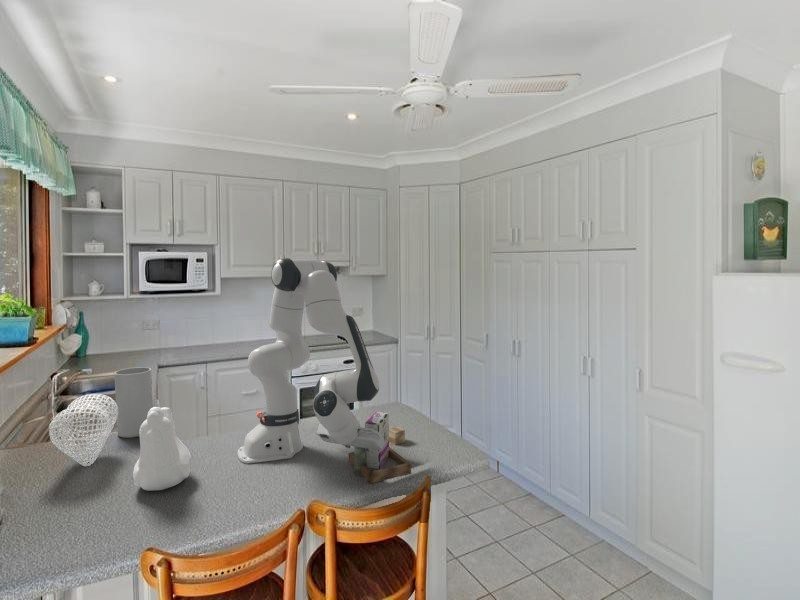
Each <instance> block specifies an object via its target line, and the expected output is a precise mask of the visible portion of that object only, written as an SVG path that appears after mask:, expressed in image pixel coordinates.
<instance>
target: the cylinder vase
mask: <svg viewBox="0 0 800 600" xmlns="http://www.w3.org/2000/svg"><path fill="white" fill-rule="evenodd" d="M113 374H114V390H115V391H114V393H115V402H116V403H117V407H118V416H117V420H116V427H117V436H118V437H120V438H125V439H129V438H130V439H131V438H133V439H134V438H138V437H139V438H140V436H139V431H140V427H141V425H142V423H143V422H144V421H145V420H146V419H147V414H148V412H149V410H150V409H151V408H153V407H154V406H153V405H154V403H153V402H154V401H153V385H152V384H153V383H152V380H153V379H152V368H150V367H145V366H144V367H143V366H142V367H141V366H140V367H137V366H136V367H129V368H123V369H119V370H117V371H115V372H114V373H113Z"/></svg>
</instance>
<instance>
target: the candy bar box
mask: <svg viewBox="0 0 800 600" xmlns="http://www.w3.org/2000/svg"><path fill="white" fill-rule="evenodd" d="M389 426H390V425H389V412H382V411H375V412H374V413H373V414H372V415H371V416H370V417H369V418H368V419H367V420H366V422H364V428H369V429H374V430H376V431H378V432H379V433H380V434H381V435H382V436H383V438H384V445H383V448H382V449H381V450H375V449H372V452H370V451H367V450H366V467H367V468H368V469H369V470H370V471H371V472H372V471H374V470H373V469H376V470H380V469H381V468H382V467H383V465H384V464H385V463H386V461H387V459H388V458H389V456H390V455H389V447H390V444H389V429H390V427H389Z"/></svg>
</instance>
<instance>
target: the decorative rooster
mask: <svg viewBox="0 0 800 600" xmlns="http://www.w3.org/2000/svg"><path fill="white" fill-rule="evenodd" d="M175 426H176V425H175V422H174V415H173V413H172V410H171V408H170V407H165V406H164V407H160V406H153V408H151V409H150V410H149V412H148V414H147V419H146V420H145V421H144V422H143V423H142V425H141V427H140V431H139V444H140V445H139V446H140V453H139V458H137V460H136V462H135V464H134V467H133V472H132V477H133V478H132V479H133V485H134V486H135V487H140V488H142V490H144V491H163V490H166V489H169V488H172V487H174V486H176V485H179V484H180V483H181V482H182V481H184V480H185V479H187V478H188V477H189V475H190V474H191V468H192V457H191V453H190V450H189V448H188V447H187V446H186V445H185V444H184V443H183V442H182V441H181V440H180V438H179V437H178V436H177V435H176V427H175Z"/></svg>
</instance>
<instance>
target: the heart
mask: <svg viewBox="0 0 800 600" xmlns="http://www.w3.org/2000/svg"><path fill="white" fill-rule="evenodd" d="M106 404H107V405H106ZM87 410H88V411H87ZM77 414H78V415H77ZM91 415H92V416H91ZM90 416H91V417H90ZM117 416H118V407H117V403H116V400H114V399H113V397H110V396H108V395H105V394H103V393H89V394H84V395H81V396H78V397H77V398H75V399H74V400H73V401H71V403H69V405H68V406H67V408H65V409H63V410H62V411H60V412H59V413H57V414H56V415H55V416H54V417H53V419H52V420H51V421H50V423H49V425H48V436H49V439H50V441H51V443H52V444H53V445H54V447H56V448H57V449H58V450H59V451H61V452H62V453H64V454H65V455H67V456H68V457H70V458H71V459H72V460H74V461H75V462H76V463H78V464H79V465H80V466H82V467H90V466H91V464H92V465H93V464H94V463H95V461H96V460H97V458H98V456H99V455H100V453H101V451H102V450H103V448H104V445H105V444H106V442H107V440H108V438H109V436H110V435H111V432H112V430H113V429H114V426H115V424H116V423H117ZM74 420H75V421H74ZM90 421H92V423H90ZM95 421H96V423H95ZM90 426H91V429H89V428H90ZM74 427H75V428H74ZM94 427H95V428H94ZM89 433H90V434H89ZM80 441H81V443H80ZM76 442H77V443H76ZM88 462H89V463H88ZM87 463H88V464H87Z"/></svg>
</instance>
